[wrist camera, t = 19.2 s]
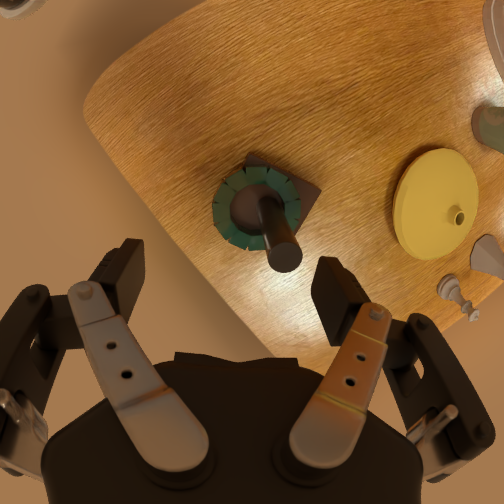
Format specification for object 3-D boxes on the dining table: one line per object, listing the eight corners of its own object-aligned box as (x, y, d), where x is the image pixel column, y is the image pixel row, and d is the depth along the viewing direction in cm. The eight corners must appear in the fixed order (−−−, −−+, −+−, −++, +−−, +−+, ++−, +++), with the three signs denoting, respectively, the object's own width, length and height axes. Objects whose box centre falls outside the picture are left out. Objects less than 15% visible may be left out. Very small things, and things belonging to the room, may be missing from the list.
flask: (495, 230, 36) (531, 255, 27) (489, 263, 40) (520, 291, 31) (472, 237, 36) (510, 267, 28) (466, 273, 40) (498, 305, 31)
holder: (214, 220, 33) (204, 283, 21) (248, 151, 29) (259, 176, 18) (281, 250, 35) (303, 319, 24) (318, 187, 32) (364, 232, 20)
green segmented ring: (199, 222, 31) (198, 229, 30) (238, 149, 28) (238, 151, 26) (271, 255, 34) (273, 263, 32) (312, 189, 30) (317, 193, 29)
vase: (393, 267, 38) (417, 294, 31) (369, 165, 31) (399, 180, 24) (468, 226, 35) (495, 246, 29) (456, 131, 28) (491, 140, 22)
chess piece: (441, 274, 39) (475, 309, 30) (457, 273, 40) (490, 306, 31) (433, 296, 41) (463, 332, 32) (449, 293, 42) (479, 327, 33)
